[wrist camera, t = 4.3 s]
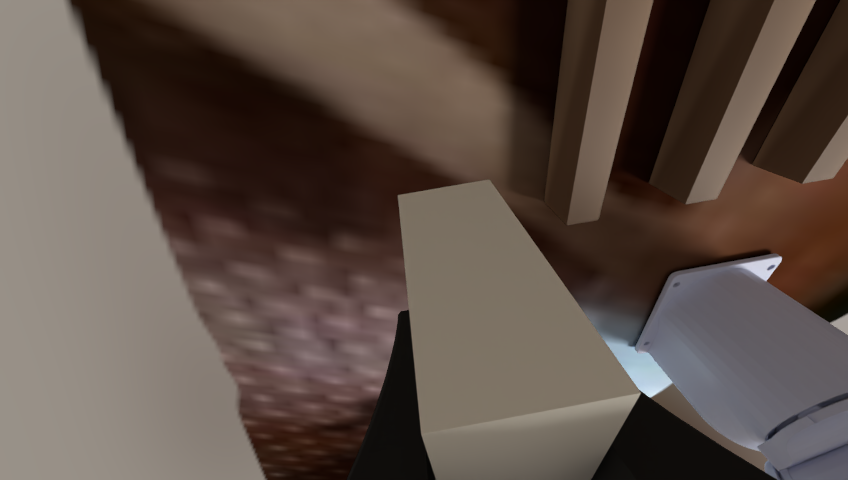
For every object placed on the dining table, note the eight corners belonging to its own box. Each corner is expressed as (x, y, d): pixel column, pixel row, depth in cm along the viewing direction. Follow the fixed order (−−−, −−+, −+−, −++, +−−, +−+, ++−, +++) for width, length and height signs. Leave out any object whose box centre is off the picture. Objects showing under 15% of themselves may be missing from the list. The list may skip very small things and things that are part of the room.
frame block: (489, 332, 14) (560, 531, 9) (428, 343, 14) (459, 551, 9) (489, 179, 10) (641, 393, 4) (397, 195, 10) (420, 434, 4)
